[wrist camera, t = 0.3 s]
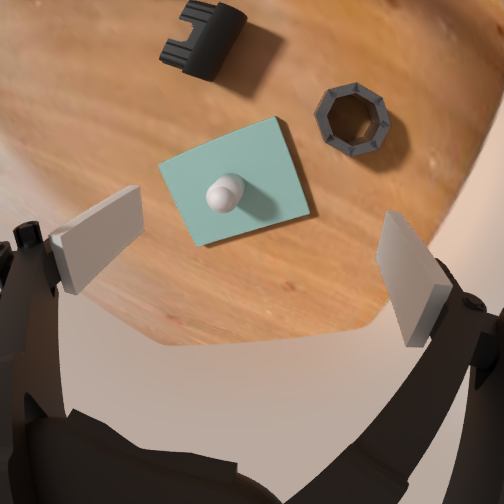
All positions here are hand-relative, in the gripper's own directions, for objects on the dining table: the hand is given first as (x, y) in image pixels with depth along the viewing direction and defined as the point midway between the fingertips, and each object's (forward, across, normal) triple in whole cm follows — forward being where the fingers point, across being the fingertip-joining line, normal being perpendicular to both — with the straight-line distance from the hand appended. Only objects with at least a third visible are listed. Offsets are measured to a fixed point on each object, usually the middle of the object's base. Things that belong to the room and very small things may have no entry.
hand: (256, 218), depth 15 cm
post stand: (+26, -7, -6) cm, 28 cm away
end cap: (+26, -11, +15) cm, 32 cm away
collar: (+26, +8, +5) cm, 28 cm away
